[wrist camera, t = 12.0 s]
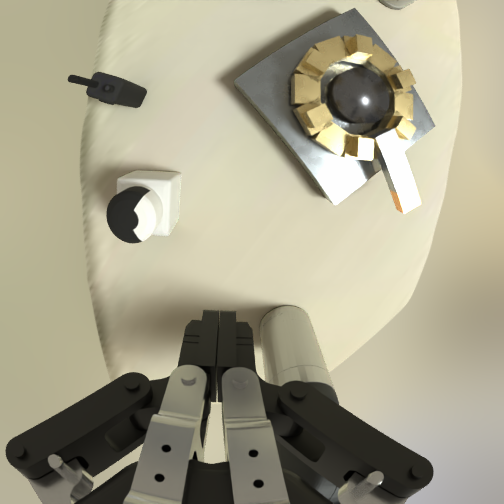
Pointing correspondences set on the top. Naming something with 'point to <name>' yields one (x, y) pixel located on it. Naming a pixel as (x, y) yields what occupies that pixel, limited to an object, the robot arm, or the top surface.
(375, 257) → the top surface
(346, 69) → the domed button plate
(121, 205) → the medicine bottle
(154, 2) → the top surface
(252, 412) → the robot arm
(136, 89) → the walkie-talkie
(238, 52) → the top surface
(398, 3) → the travel mug
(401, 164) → the segmented ring
